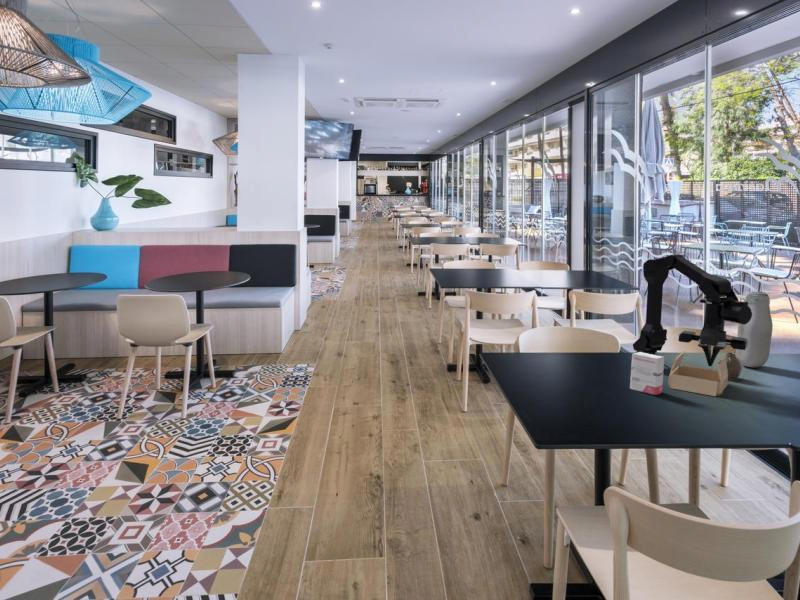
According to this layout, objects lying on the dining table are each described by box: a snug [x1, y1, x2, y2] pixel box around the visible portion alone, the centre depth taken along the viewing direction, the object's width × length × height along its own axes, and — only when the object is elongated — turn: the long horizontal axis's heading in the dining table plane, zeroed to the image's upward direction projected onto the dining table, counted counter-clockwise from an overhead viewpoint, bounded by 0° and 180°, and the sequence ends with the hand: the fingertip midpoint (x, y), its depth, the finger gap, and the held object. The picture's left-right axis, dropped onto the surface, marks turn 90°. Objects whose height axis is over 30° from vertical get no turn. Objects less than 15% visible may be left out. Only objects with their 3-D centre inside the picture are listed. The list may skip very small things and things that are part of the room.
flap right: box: [716, 356, 728, 381], centre depth 174 cm, size 1×12×5 cm, turn 141°
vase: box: [718, 352, 742, 381], centre depth 188 cm, size 7×7×9 cm
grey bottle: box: [735, 291, 773, 369], centre depth 200 cm, size 10×10×28 cm
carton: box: [667, 364, 729, 397], centre depth 179 cm, size 15×17×4 cm
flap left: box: [670, 350, 686, 373], centre depth 182 cm, size 1×12×5 cm, turn 143°
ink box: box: [629, 352, 665, 396], centre depth 174 cm, size 9×5×12 cm, turn 39°
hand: (710, 366), depth 176 cm, fingers closed
